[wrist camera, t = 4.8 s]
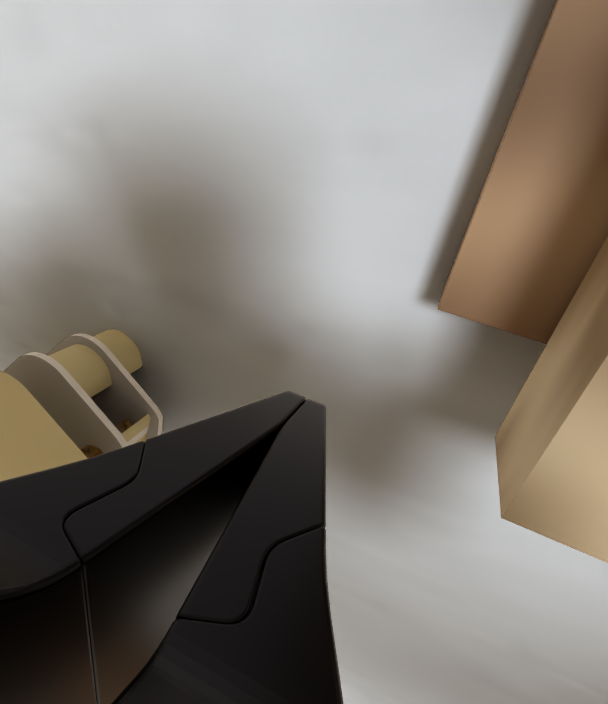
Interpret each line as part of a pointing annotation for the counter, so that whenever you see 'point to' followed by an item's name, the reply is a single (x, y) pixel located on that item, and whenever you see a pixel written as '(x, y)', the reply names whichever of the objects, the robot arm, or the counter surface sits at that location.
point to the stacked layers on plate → (73, 404)
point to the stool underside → (542, 186)
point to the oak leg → (563, 428)
